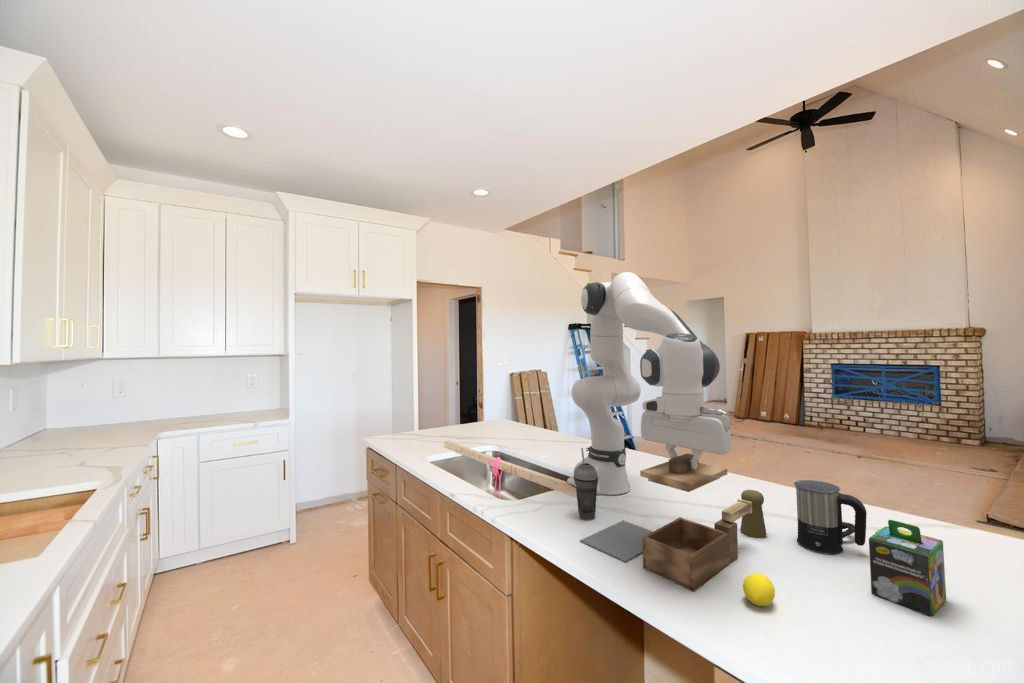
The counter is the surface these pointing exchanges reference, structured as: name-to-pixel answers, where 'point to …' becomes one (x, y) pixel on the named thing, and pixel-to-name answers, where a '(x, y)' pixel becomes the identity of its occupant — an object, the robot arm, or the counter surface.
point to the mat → (619, 540)
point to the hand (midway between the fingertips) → (684, 466)
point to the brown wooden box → (690, 551)
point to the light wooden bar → (737, 510)
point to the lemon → (759, 589)
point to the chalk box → (907, 567)
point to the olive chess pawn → (753, 515)
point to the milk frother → (826, 517)
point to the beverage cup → (586, 489)
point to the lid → (683, 474)
